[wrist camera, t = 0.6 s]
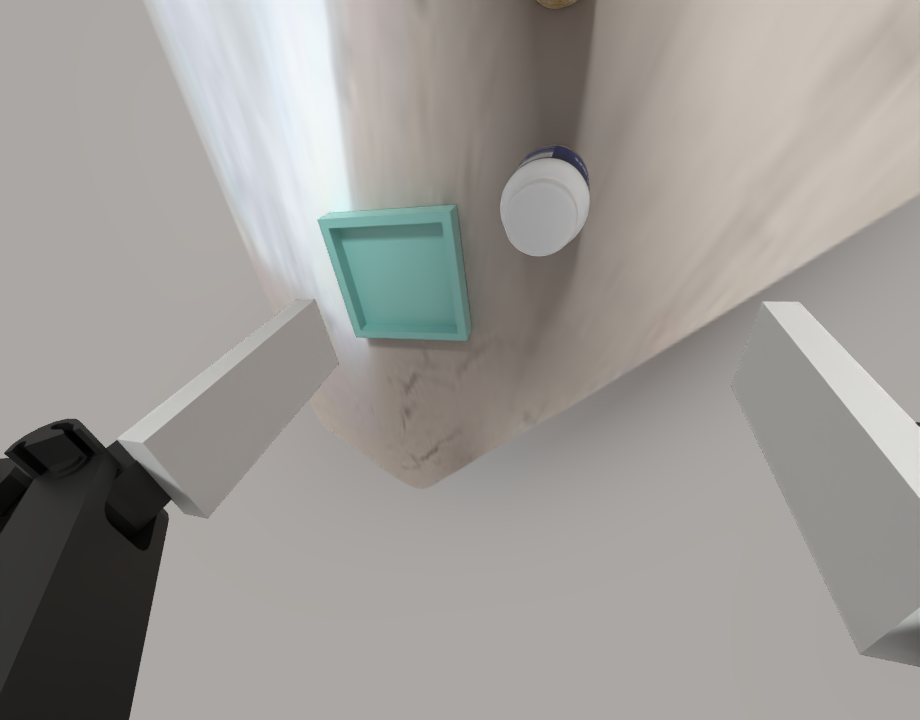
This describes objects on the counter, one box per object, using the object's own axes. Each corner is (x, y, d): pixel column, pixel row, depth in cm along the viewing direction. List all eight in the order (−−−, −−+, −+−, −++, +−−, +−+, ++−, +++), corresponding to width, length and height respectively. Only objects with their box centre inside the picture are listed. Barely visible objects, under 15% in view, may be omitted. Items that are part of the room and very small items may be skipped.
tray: (329, 212, 34) (317, 219, 33) (456, 204, 31) (449, 211, 30) (364, 327, 41) (356, 337, 40) (471, 330, 38) (466, 341, 36)
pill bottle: (598, 202, 28) (604, 247, 21) (531, 231, 31) (514, 282, 23) (574, 127, 26) (570, 148, 19) (503, 166, 29) (475, 198, 21)
